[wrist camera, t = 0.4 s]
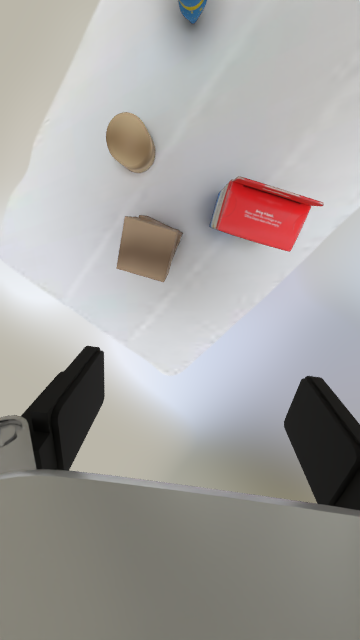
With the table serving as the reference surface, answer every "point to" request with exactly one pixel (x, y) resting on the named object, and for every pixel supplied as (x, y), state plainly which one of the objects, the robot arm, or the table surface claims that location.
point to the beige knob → (130, 142)
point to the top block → (146, 248)
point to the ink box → (261, 213)
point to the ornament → (192, 9)
